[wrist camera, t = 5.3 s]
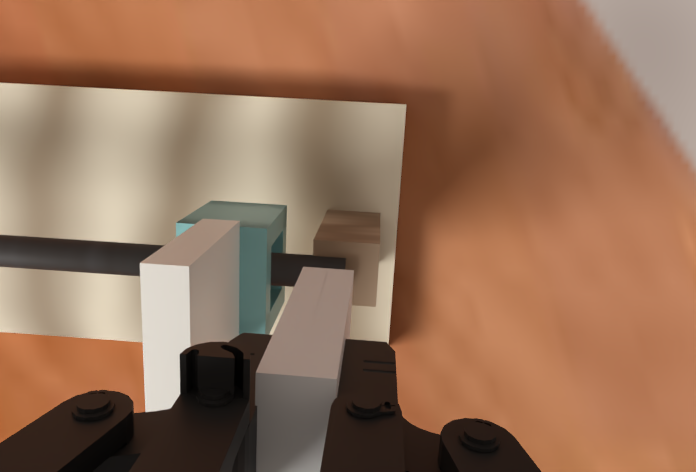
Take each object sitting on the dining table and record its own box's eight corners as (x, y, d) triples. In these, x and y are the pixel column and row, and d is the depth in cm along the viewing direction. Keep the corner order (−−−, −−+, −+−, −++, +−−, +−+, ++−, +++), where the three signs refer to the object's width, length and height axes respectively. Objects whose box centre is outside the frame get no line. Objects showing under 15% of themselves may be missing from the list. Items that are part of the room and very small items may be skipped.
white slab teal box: (287, 200, 22) (226, 268, 14) (284, 305, 23) (226, 432, 15) (211, 195, 22) (102, 260, 14) (212, 300, 24) (112, 423, 15)
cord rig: (405, 103, 26) (416, 109, 17) (387, 346, 29) (389, 452, 20) (-264, 68, 27) (-556, 57, 19) (-216, 303, 30) (-450, 385, 22)
